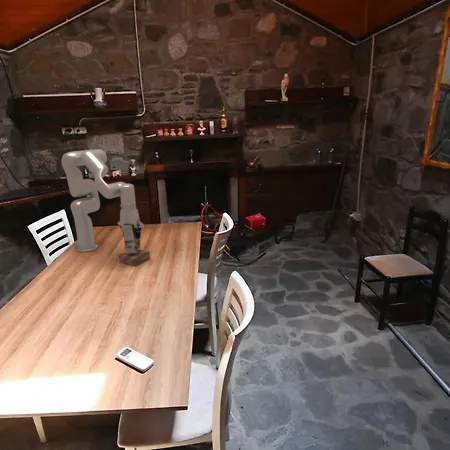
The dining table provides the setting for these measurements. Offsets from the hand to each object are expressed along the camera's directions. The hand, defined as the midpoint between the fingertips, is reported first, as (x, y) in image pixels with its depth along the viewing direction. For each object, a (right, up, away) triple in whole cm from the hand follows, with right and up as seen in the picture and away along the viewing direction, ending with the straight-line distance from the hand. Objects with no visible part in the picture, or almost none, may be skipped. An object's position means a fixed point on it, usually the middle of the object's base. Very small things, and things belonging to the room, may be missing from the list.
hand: (132, 237), depth 195 cm
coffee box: (0, -7, +2) cm, 8 cm away
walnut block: (+1, -14, +4) cm, 14 cm away
